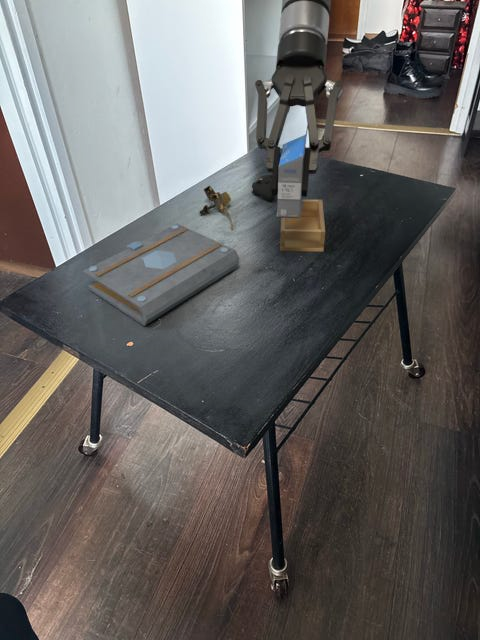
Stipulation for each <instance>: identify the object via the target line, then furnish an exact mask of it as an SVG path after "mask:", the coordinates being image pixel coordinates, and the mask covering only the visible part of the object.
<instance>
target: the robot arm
mask: <svg viewBox="0 0 480 640" xmlns="http://www.w3.org/2000/svg"><path fill="white" fill-rule="evenodd" d="M331 4H332V0H282V1H281V13H280V18H279V19H280V20H279V28H278V29H279V31H278V44H277V50H276V51H277V52H276V62H275V71H274V73H273V74H272V76H271V78H270V79H268V80H265V81H263V80H261V79H257V80H256V81H255V83H254V86H255V92H256V96H257V115H256V133H255V134H256V135H255V140H256V145H257V147H258V149H260V150H265V151H266V160H265V167H266V168H265V169H266V171H267V173H272V174H271V175H272V182H271V192H272V195H274V196H278V166H279V162H280V157H281V152H282V151H281V146H279V144H280V141H281V137H282V135H283V134H282V133H283V130H284V127H285V124H286V121H287V117H288V114H289V112H290V109H291V107H295V106H299V107H304V108H305V115H306V116H305V117H306V124H307V123H308V130H307V135H308V141H309V147H307V146H306V147H305V158H304V169H303V181H302V197H303V198H304V197H305V198H307V197H308V190H309V189H308V188H309V176H310V175H315V174H317V172H318V161H319V155H320V153H321V152H329V151H330V150H331V148H332V141H333V134H334V127H335V126H334V125H335V119H336V112H337V104H338V102H339V101H340V99H341V97H342V94H343V88H344V82H343V81H342V80H337V81H335V82H334V81H333V80H330V79H328V75H327V73H326V61H327V53H328V52H327V51H328V47H327V45H328V39H329V26H330V17H331ZM272 90H274V91H275V93H276V94H277V96H278V97H279V102H278V105H277V110H276V113H275V116H274V118H273V119H274V120H273V123H272V126H271V130H270V133H269V137H267V126H268V125H267V123H268V98H269V97H271V94H272V93H271V91H272ZM324 90H325V91H326V95H325V96H326V98H328V99H327V100H328V101H327V109H326V116H325V123H324V132H323V138H320V139H319V134H318V126H317V117H316V109H315V108H316V107H315V100H316V99H317V98H318V97H319V96H320V95H321V93H323V91H324Z"/></svg>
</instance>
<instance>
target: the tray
mask: <svg viewBox="0 0 480 640" xmlns="http://www.w3.org/2000/svg"><path fill="white" fill-rule="evenodd" d="M323 203H324V202H323V199H303V202H302V210H301V215H300V218H280V245H279V251H280V252H311V253H312V252H314V253H315V252H316V253H322V252H325V239H326V223H325V215H324V214H325V213H324V204H323Z"/></svg>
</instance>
